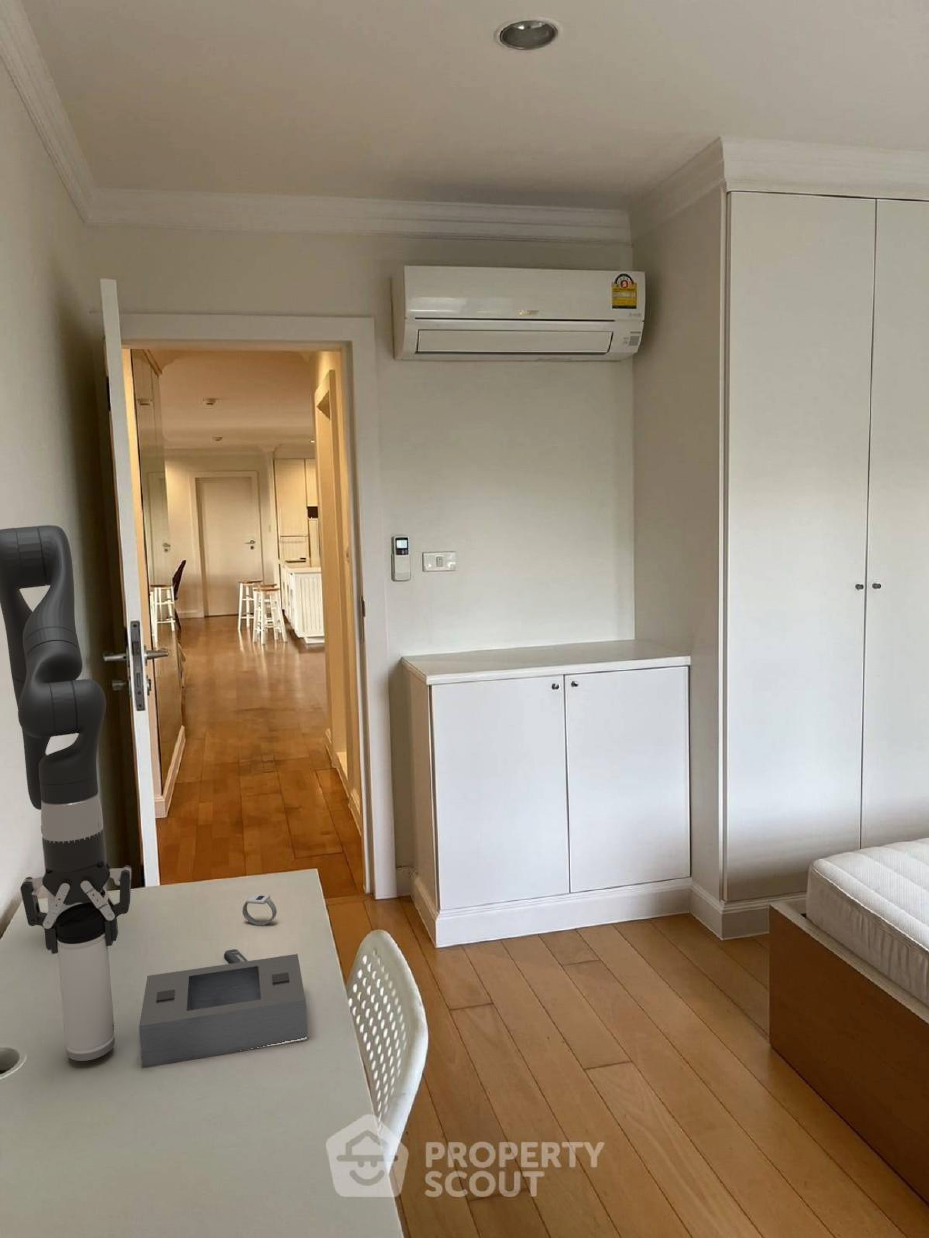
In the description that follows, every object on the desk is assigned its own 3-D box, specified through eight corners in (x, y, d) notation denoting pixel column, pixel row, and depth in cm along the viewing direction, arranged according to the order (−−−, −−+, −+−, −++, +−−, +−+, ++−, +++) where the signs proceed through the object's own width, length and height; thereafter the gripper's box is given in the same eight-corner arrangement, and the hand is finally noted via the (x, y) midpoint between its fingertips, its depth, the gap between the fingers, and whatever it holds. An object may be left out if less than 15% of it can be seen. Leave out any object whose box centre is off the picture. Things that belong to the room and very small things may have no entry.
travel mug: (126, 1038, 130) (116, 902, 127) (93, 1065, 124) (82, 923, 121) (90, 1030, 132) (79, 896, 129) (56, 1057, 126) (44, 917, 123)
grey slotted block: (150, 1013, 138) (147, 974, 137) (299, 990, 143) (297, 952, 142) (142, 1067, 124) (139, 1024, 124) (307, 1039, 130) (305, 998, 129)
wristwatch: (240, 926, 166) (239, 899, 166) (247, 919, 169) (246, 893, 168) (272, 928, 165) (271, 901, 164) (279, 921, 168) (277, 895, 167)
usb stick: (259, 977, 149) (258, 967, 148) (243, 982, 147) (242, 972, 147) (237, 954, 156) (237, 945, 156) (222, 959, 155) (222, 950, 155)
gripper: (132, 813, 129) (141, 927, 131) (20, 825, 125) (31, 942, 128) (127, 832, 122) (136, 952, 124) (8, 845, 118) (19, 968, 120)
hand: (83, 946), depth 126 cm, fingers closed on travel mug, 6 cm apart
